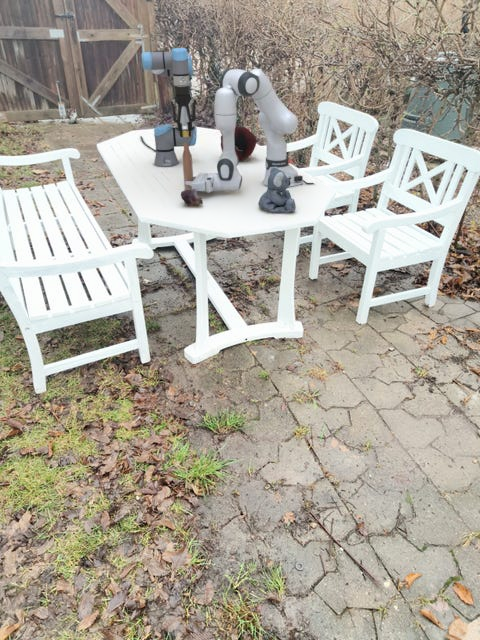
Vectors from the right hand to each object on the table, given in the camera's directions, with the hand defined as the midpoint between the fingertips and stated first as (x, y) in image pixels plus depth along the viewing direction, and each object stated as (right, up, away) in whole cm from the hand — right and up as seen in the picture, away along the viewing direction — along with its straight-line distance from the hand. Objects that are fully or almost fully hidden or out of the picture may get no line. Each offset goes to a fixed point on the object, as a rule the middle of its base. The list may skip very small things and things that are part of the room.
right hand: (187, 180), depth 244 cm
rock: (+4, -16, -12) cm, 21 cm away
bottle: (+1, -5, +4) cm, 7 cm away
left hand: (+1, +19, -13) cm, 23 cm away
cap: (+1, +21, -14) cm, 25 cm away
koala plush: (+47, -19, -17) cm, 54 cm away
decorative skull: (+27, +33, +59) cm, 73 cm away
